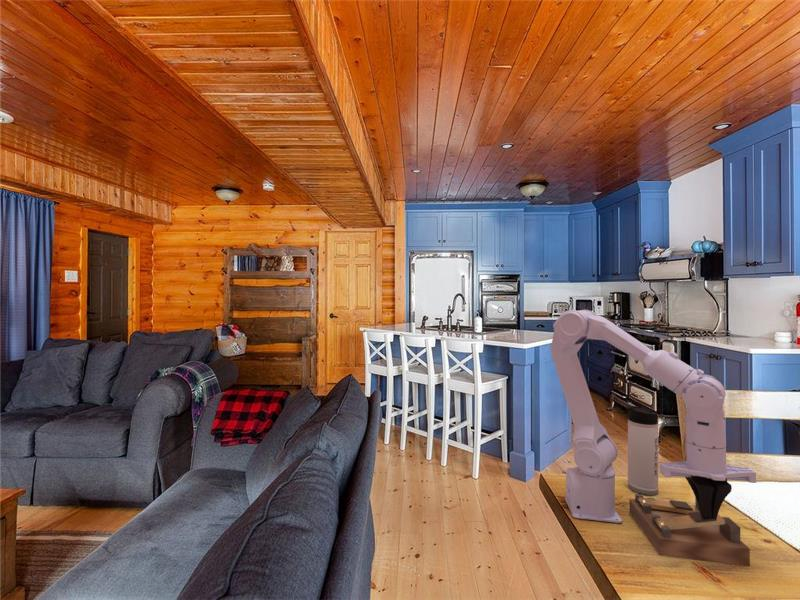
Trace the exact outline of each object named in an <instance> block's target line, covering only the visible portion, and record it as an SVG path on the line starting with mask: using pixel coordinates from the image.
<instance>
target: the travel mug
mask: <svg viewBox="0 0 800 600" xmlns="http://www.w3.org/2000/svg"><path fill="white" fill-rule="evenodd" d="M626 410H627V415H628V417H627V487H628V488H629V489H630V490H631V491H632V490H633V491H632V492H634V491H636V492H638V493H637V494H639V493H642V494H641V495H643V494H647V495H646V496H656V495H658V493H659V414H658V412H656V411H655V410H652V409H649V408H646V407H642V406H636V405H626ZM636 492H635V493H636ZM648 494H649V495H648ZM655 494H656V495H655Z"/></svg>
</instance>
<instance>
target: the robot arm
mask: <svg viewBox="0 0 800 600" xmlns="http://www.w3.org/2000/svg"><path fill="white" fill-rule="evenodd" d="M552 326H553V336H552V339H551V340H552V341H551V345H550V353H551V358H552V360H553V364H554V366H555V369H556V373H557V376H558V379H559V383H560V385H561V388H562V392H563V396H564V398H565V400H566V404H567V408H568V411H569V414H570V418H571V420H572V422H573V426H574V431H573V436H572V437H573V438H572V442H573V445H574V453H573V460H574V462H575V464H576V466H575V467H568V468H566V473H565V498H564V500H565V501H566V502H565V503H566V504H567V507H568V509H569V511H570V513H571V515H572V517H573V518H574V519H579V520H591V521H599V522H607V523H608V522H609V523H616V524H617V523H618V524H622V523H623V519H622V518H621V517H620V515H619V513H618V512H617V510H616V502H615V501H616V494H615V493H616V471H615V469H614V466H613V462H614V461H616V460H617V458H618V455H619V454H618V453H619V452H618V447H617V445H616V443H615V442H614V441H613V439H611V438H610V436H609V434H608V431H607V429H606V427H605V426H604V425H603V424H601V422H600V420H599V417H598V414H597V410H596V407H595V404H594V402H593V398H592V396H591V392H590V389H589V386H588V383H587V380H586V377H585V374H584V371H583V368H582V365H581V362H580V359H579V357H578V352H579V351H580V349H581V348H582V346H583V345H584V344H585V342H586V341H588V340H595V341H597V340H598V341H605V342H606V343H608V344H610V345H612V346H613V347H615V348H616V349H618V350H620V351H622V352H623V353H624V354H626V355H628V356H630V357H631V358H633V359H635V360H636V361H638V362H639V363H641V365H642V367H643V368H642V369H643V372H644V373H645V374H646V375H648V376H649V377H650V378H652V379H653V380H655V381H657V382H658V383H660V384H661V385H663V386H664V387H665V388H667V389H668V390H670V391H671V392H673V393H675V394H677V395H679V396H681V399H682V401H683V403H684V404H685V405H686V406H685V407H686V415H685V437H686V438H685V443H686V444H685V445H686V449H685V450H686V460H685V461H684V460H683V461H674V462H659V473H660V474H661V475H662V476H664V478H672V477H681V478H683V477H684V479H685V480H686V482H687V483H688V485H689V486H690V488H691V490H692V493H693V495H694V496H695V497H696V500H697V503H698V506H699V510H700V513H701V514H702V515H703V516H704V517H705V518H706V519H711V518H714V519H715V520H716V519H717V515H719V512H720V509H721V507H722V504H723V502H724V501H725V499H726V498H727V496H728V495H729V494H730V493H731V492H732V484H730V483H729V482H728V481H729V480H730V481H742V482H743V481H745V482H746V481H747V482H748V483H750V484H751V483H752V484H753V483H755V484H756V483H757V472H756V471H754V470H753V469H752V468H750V467H746V466H745V467H743V466H737V465H729V464H727V437H726V420H725V419H724V417H725V411H724V403H725V399H726V390H725V387H724V385H723V384H722V383H721V381H719V380H717V379H716V377H715V376H712V375H709V374H704V373H705V372H704V370H702V369H700V368H699V369H696V368H694V367H692V366H691V365H689V364H687V363H686V362H684V361H682V360H680V359H679V358H678V357H679V354H678V353H677V352H675V351H670V352H668V351H667V350H665V349H659V350H652V349H651V348H650V347H648V346H647V345H645V344H644V343H643V342H641V341H640V340H638V339H637V338H636V337H634V336H632V335H631V334H630V333H628V332H626V331H625V330H623V329H622V328H620V327H619V326H617V325H616V324H614V323H613V322H612V321H610V320H608V319H607V318H605V317H604V316H601V315H597V314H596V313H595V312H593V311H592V310H591V309H590V310H589V309H580V310H574V309H570V310H565V311H564V312H562V313H560V315H559V317H557V319H556V320H555V322H554V323H553V324H552Z"/></svg>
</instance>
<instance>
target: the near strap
mask: <svg viewBox="0 0 800 600" xmlns="http://www.w3.org/2000/svg"><path fill="white" fill-rule="evenodd" d="M722 517H723V516H721V515H719V514H718V515H717V519H716V520H715V519H714V518H711V519H706V518H705V517H704V516H703V515H702V514H701V513H700V512H692V513H689V515H687V516H678V517H668V518H656V519H655V522H656V523H657V525H658V526H659V527H660V528H661V526H665V527H669V528H670V529H671V530H673V529H682V528H692V527H702V526H712V525H722V524H725V521H724V519H723V518H722Z"/></svg>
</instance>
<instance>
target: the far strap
mask: <svg viewBox="0 0 800 600" xmlns="http://www.w3.org/2000/svg"><path fill="white" fill-rule="evenodd" d="M638 501H639V502H640V503H641V505H642V506H643V503H644V504H650V505H651V508H653V509H660V510H666V511H672V512H679V513H685V514H689V513H692V512H700V511H699V510H698V509H697V508H696V507H695V506H693V505H694V504H693V505H692V504H689V503H687V502H686V501H681V500H680V501H679V500H673V499H669V501H666V500H660V499H653V498H647V497H643V498H642V497H638Z"/></svg>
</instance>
